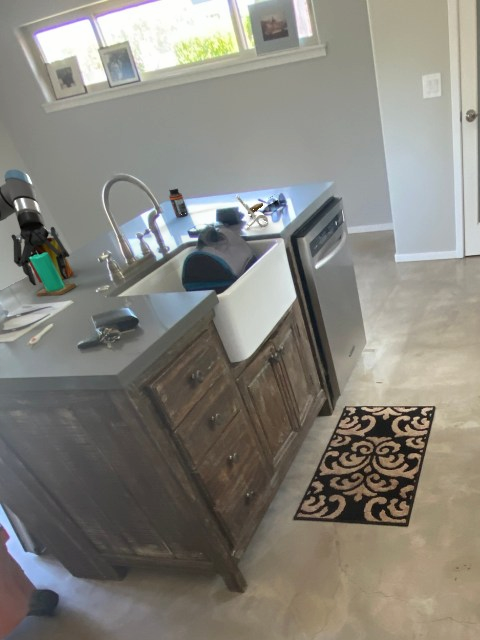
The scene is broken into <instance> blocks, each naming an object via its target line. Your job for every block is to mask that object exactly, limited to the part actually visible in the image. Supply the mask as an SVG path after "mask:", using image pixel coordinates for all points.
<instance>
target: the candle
mask: <svg viewBox="0 0 480 640" xmlns="http://www.w3.org/2000/svg"><path fill="white" fill-rule="evenodd" d="M36 252H37V251H36ZM37 254H38V253H37ZM29 258H30V260H31V262H32V264H33V266H34V268H35V270H36V271H37V273H38V275H39V277H40V279H41V281H42V285H43V286H44V288H46V290H47V291H54V290H58V289H61V288H63V287H64V286H65V285H64V284H65V283H64V282H63V279H61V277H60V275H59V273H58V271H57V269H56V267H55V266H54V264H53V262H52V260H51V258H50V256H49V254H48V253H42V254H40V255H34V256H32V257H29Z"/></svg>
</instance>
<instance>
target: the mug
mask: <svg viewBox="0 0 480 640" xmlns="http://www.w3.org/2000/svg"><path fill="white" fill-rule="evenodd" d="M47 240H48V241H49V242H50V243H51V244H52V245H53V246H54V247H55V248H56V249H57V250H58V251H59V252H60V253H61V252H62V250H61V249H60V247H59V245H58V244H57V242H56V240H55V239H54V237H53V236H51V237H47ZM36 251H37V252H36ZM37 253H38V254H37ZM42 253H48V254H49V256H50V258H51V260H52V262H53V264H54V266H55V267H56V269H57V271H58V273H59V275H60V277H61V279H62V280H65V279H64V278H63V276H62V275H61V273H60V270H59V267H58V263H57V260H56V256H57V255H56V254H55V253H54V252H53V251H52V250H51V249H50V248H49V247H48V246H47V245H46V244H45V243H44V244H42V245H37V246H34V249H32V252H31V256H30V257H32V256H34V255H40V254H42ZM65 263H66V268H64V270H65V273H66V277H67V279H68V278H70V277H72V276H73V275H74V274H75V273H74V270H73V269H72V266H71V265H70V262H69V261H68V257H65ZM29 266H30V267H31V269H32V272H33V274H34V275H35V277H36V278H37V281H38V282H39V283H40V284H43V282H42V281H41V279H40V277H39V275H38V273H37V271H36V270H35V268H34V266H33V264H32V262H31V260H29Z"/></svg>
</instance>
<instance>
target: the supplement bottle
mask: <svg viewBox="0 0 480 640" xmlns="http://www.w3.org/2000/svg"><path fill="white" fill-rule="evenodd" d="M168 191H169V195H168V196H169V200H170V203H171V205H172V209H173V212H174V215H175V217H176V218H182V217H186V216H188V214H189V212H188V208H187V205H186V203H185V199H184V197H183V196H184V195H183V194H182V193H181V192H179V188H178V187H172V188H169V189H168ZM185 213H186V214H185ZM181 214H182V215H181Z"/></svg>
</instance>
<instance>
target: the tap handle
mask: <svg viewBox="0 0 480 640" xmlns="http://www.w3.org/2000/svg"><path fill="white" fill-rule="evenodd" d="M271 197H273V195H272V196H270V197H269V198H271ZM262 206H263V202H261V203H260V202H259V203H256V204H254V205H253V206H251V207H249V209H250V210H251V211H252V212H253V213H254V212H255V211H257V210H258V209H259V208H261V207H262ZM253 209H254V210H253ZM248 214H250V213H249V212H248V211H247V215H248ZM249 217H250V218H253V217H252V215H251V216H249Z"/></svg>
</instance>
